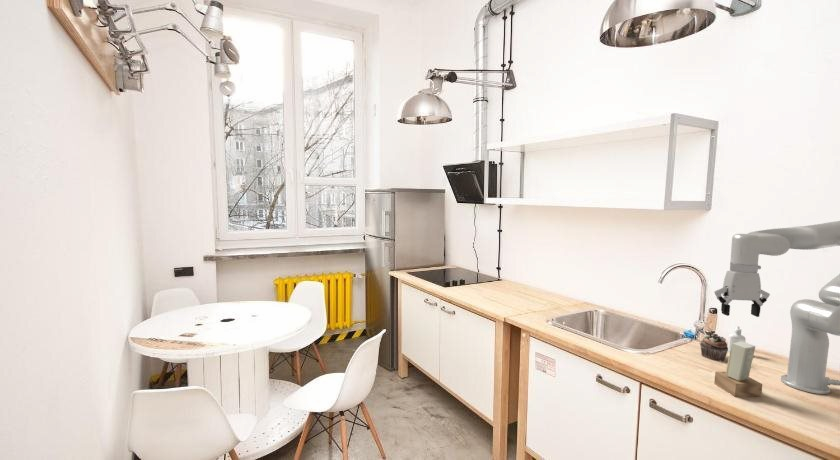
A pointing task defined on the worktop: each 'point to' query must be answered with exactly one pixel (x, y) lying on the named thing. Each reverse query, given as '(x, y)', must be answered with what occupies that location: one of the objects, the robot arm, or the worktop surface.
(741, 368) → the skincare box
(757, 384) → the block
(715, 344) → the cupcake
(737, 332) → the eye dropper bottle
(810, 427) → the worktop surface
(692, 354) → the worktop surface
